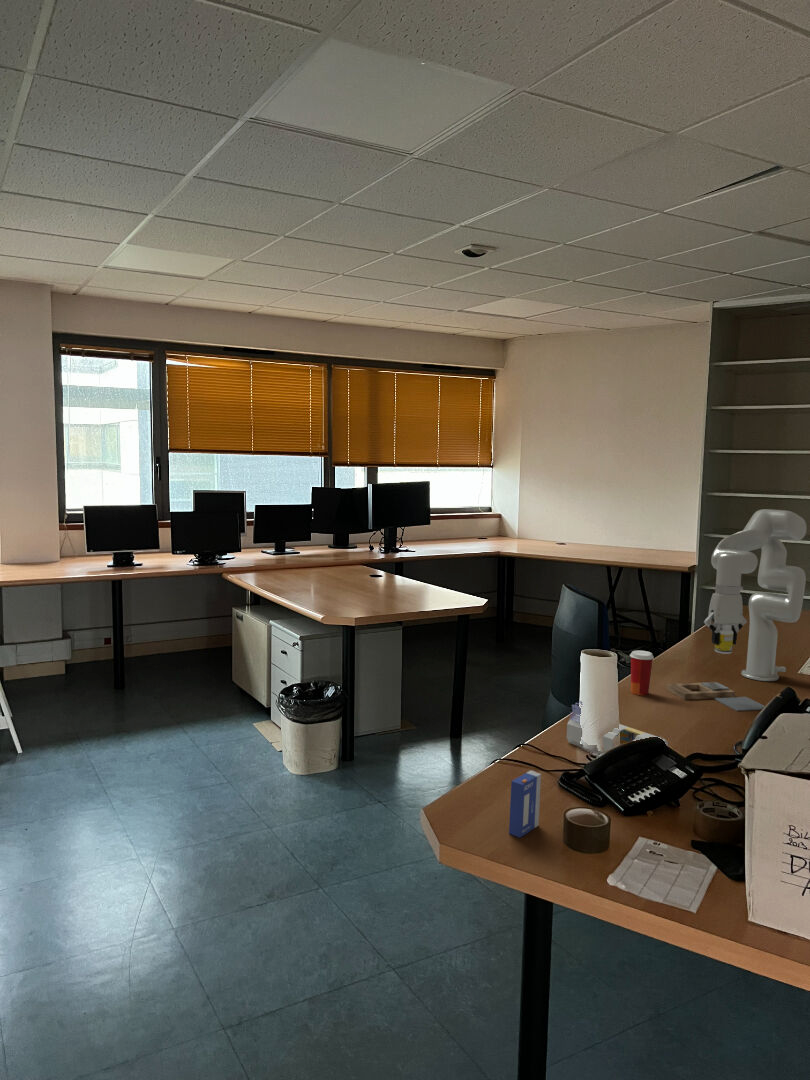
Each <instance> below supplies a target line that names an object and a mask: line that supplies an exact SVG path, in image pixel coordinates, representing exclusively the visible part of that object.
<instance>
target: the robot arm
mask: <svg viewBox="0 0 810 1080" xmlns="http://www.w3.org/2000/svg"><path fill="white" fill-rule="evenodd" d="M807 529H808V527H807V522H806V521H805V519H804V518H803V517H802V516H800V515H799V514H797V513H795V512H793V511H790V510H784V509H783V510H782V509H772V508H771V509H769V508H767V509H765V508H763V509H758V510H756V511H755V512H754V513H753V514H752V516H751V517H750V519H749V520H748V522H747V524H746V525H745V526H744V528H743V530H740V531H737V532H735V533H733V534H730V535H728V536H726V537H724V538H723V539H721V540H720V541H719V542H718V544H717V546H716V547H715V548H714V550H713V552H712V554H711V558H710V559H711V560H710V563H711V566H712V567H713V569H715V570H716V578H715V580H716V581H715V592H714V593H712V595H711V599H710V601H709V608H708V616H707V617H706V618H705V619H704V620H703V623H704V625H706V626H707V627H708V629H710V631H711V643H712V644H713V645H715V644H716V645H719V641H720V633H718V632H719V629H720V627H721V625H725V624H732V627H731V630H732V631H733V645H736V644H737V639H738V633H739V632H740V630H741V629H742V628H743V627H744V626H745V625H746V624H747V623H748V621H747V619H746V617H745V616H744V615H743V613H744V612H743V610H744V609H743V608H744V607H743V595H742V594H741V591H743V590H744V587H743V586H741V585H742V584H741V583H742V574H752V573H754V571H755V570H756V569H757V567H758V562H759V568H758V574H757V584H758V586H759V587H761V588H762V589H765V590H771V591H780V592H786V593H788V595H786V594H779V593H773V592H765V591H762V592H761V591H759V592H754V593H753V594H751V596H750V597H749V599H748V613H749V614H748V615H749V627H748V628H749V630H748V631H749V632H748V643H747V655H746V668H745V669H742V670H741V673H740V674H741V676H743V677H745V678H747V679H751V680H754V681H755V680H756V681H761V682H762V681H763V682H775V681H778V680H779V677H780V676H779V674H778V673H785V672H786V671H787V668H786V667H785V666H778V665H776V656H777V645H778V644H777V643H778V629H777V627H776V625H775V623H774V621H777V622H778V621H779V622H783V623H796V622H797V621H798V620H799V619H800V617H801V614H802V610H803V609H802V608H803V602H804V595H805V591H806V590H805V588H806V584H807V583H806V582H807V579H806V578H807V577H806V573H805V570H804V569H803V568H801V567H799V566H795V565H794V566H793V565H787V563H786V562H787V556H788V550H787V548H786V547H785V545H784V543H783V542H782V541H783V540H784V541H795V542H798V541H801V540H802V539H804V538H805V536H806V534H807ZM781 540H782V541H781ZM759 549H761V554H760V561H758V557H757V556H756V554H755V553H754V552H752V551H754V550H759Z"/></svg>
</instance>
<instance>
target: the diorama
mask: <svg viewBox="0 0 810 1080" xmlns="http://www.w3.org/2000/svg"><path fill="white" fill-rule="evenodd" d="M582 701H583V700H579V701H578V702H575V704H571V709H572V711H570V713H569V720H568V722H567V723H566V739H567V741H568V743H569V744H571V745H574V746H577V747H579V748H584V745H583V743H582V744H580V741H581V737H582V738H583V730H582V728H581V725H580V716H581V715H580V714H581V708H580V706H581V705H583V702H582ZM580 704H581V705H580ZM618 724H619V729H618V728H614V729H613V731H612V732H608V733H607V734H605V735H604V736H603V745H604V746H603V747H604V751H607V750H609V749H611V748H613V749H614V746H613V739H614V738H615V736H618V735H619V733H620V743H621V744H623V743H626V742H629V741H636V740H640V739H645V738H649V737H658V738H660V739H662V740H663V741H664V742H665V744H666V745H667V746H668V747H669V742H668V741H667V739H665V738H662V737H660V736H657V735H654V734H651V733H647V732H645V731H641V730H638V729H637V728H632V727H630V726H626V725H624V724H621V723H618ZM596 751H597V754H599V755H601V754H602V753H603V752H604V751H603V752H601V751H598V750H597V749H596Z"/></svg>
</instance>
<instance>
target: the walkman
mask: <svg viewBox="0 0 810 1080" xmlns="http://www.w3.org/2000/svg"><path fill="white" fill-rule="evenodd" d="M510 782H511V784H510V786H511V787H510V802H509V804H510V805H509V822H508V823H509V828H508V834H509V835H511V836H514V837H517V838H519V839H520V838H522V837H523V836H526V834H528V833H529V832H531V831H532V830H534V829H535V828H537V827H539V822H540V821H539V819H540V802H541V801H540V800H541V783H542V774H541V773H539V772H536V771H534V770H528V771H527V772H525V773H523V774H522V775H520V776H518V777H516V778H514V779H513V780H511V781H510Z"/></svg>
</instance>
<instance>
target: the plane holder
mask: <svg viewBox="0 0 810 1080" xmlns="http://www.w3.org/2000/svg"><path fill="white" fill-rule="evenodd" d="M666 691H668V692H670V693H672V694H673V695H675V696H676V697H679V698H680V699H682V700H684V701H686V700H689V701H690V700H705V699H707V700H709V699H710V700H711V699H714V698H729V697H736V691H735V690H733V689H730V688H729V687H727V686H725V685H724V684H722V683H719V682H718V681H712V682H706V681H705V682H687V683H685V682H684V683H667V684H666Z"/></svg>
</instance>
